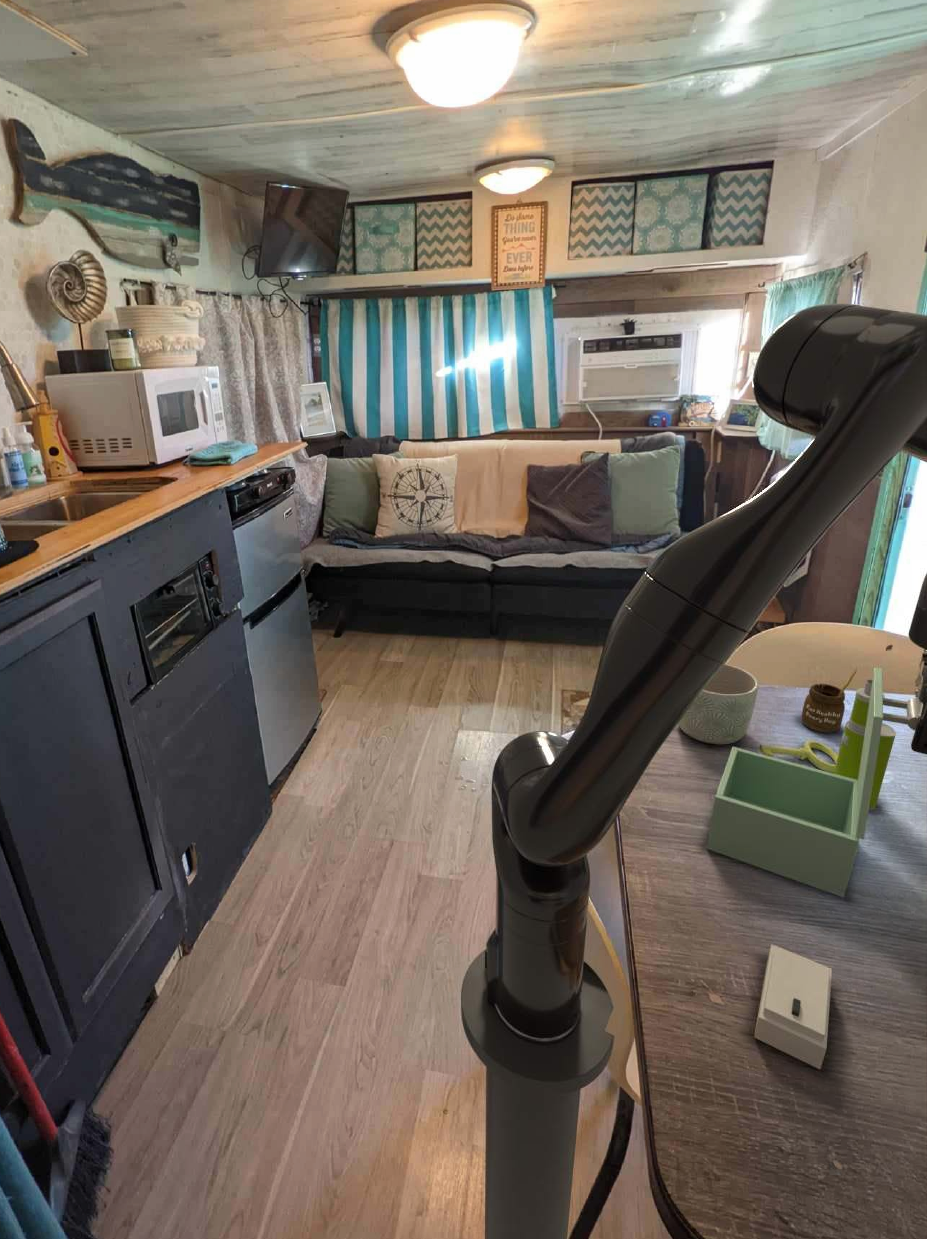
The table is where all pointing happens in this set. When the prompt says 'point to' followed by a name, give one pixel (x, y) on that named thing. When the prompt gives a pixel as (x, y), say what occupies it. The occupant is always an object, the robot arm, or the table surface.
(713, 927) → the table surface
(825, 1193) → the table surface
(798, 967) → the white power adapter
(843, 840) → the box
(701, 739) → the planter
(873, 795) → the vape
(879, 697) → the lid
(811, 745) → the key
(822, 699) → the utensil holder
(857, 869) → the table surface
